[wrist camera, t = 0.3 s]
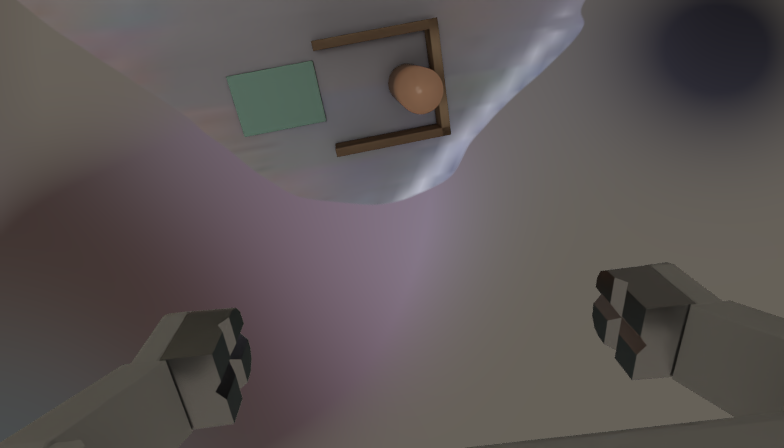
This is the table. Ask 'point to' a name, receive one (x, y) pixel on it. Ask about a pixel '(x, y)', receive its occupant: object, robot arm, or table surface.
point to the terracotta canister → (416, 88)
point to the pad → (277, 98)
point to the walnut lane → (434, 64)
